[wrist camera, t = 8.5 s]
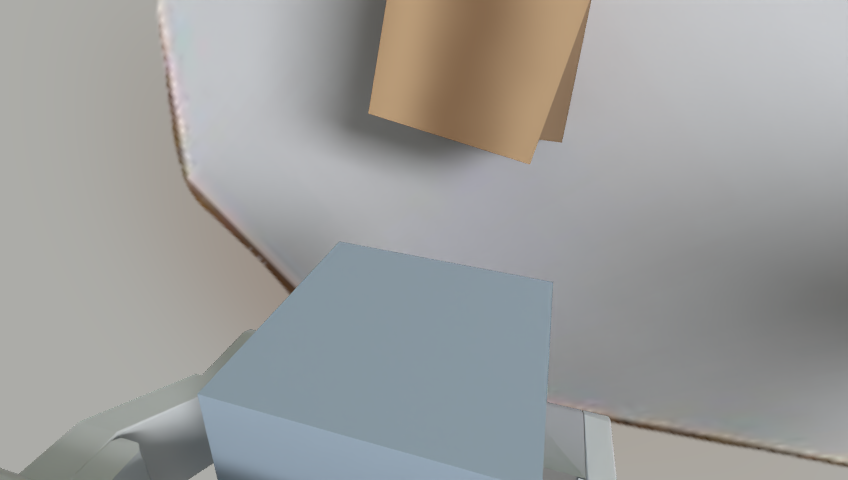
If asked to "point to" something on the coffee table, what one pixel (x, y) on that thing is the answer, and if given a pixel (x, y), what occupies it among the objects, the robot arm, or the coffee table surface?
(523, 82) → the teak block
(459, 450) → the slate cube
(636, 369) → the coffee table surface
